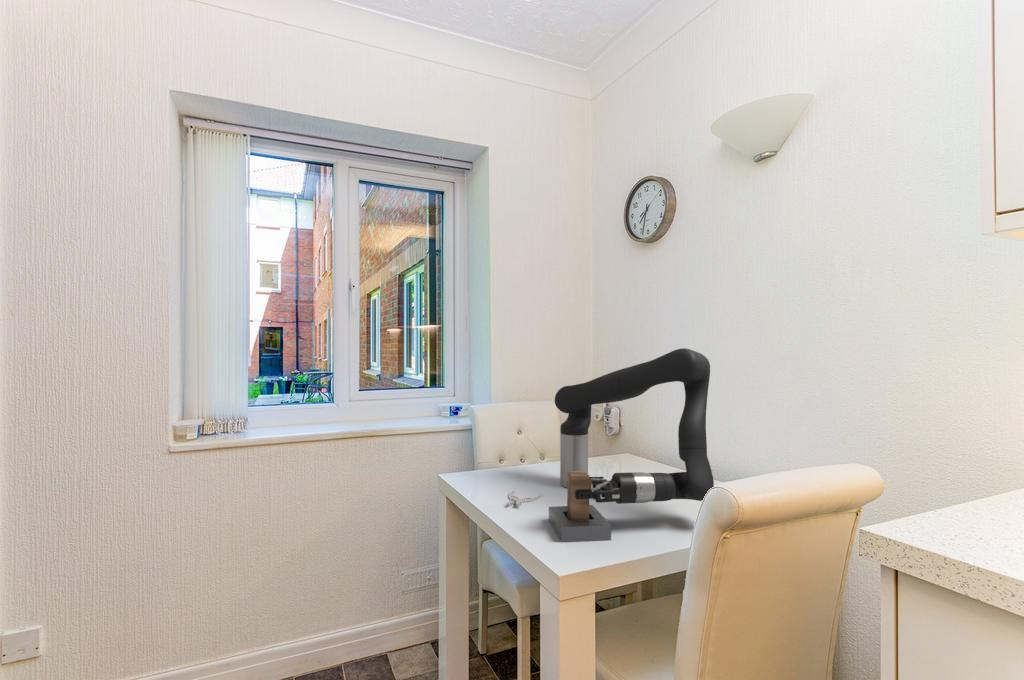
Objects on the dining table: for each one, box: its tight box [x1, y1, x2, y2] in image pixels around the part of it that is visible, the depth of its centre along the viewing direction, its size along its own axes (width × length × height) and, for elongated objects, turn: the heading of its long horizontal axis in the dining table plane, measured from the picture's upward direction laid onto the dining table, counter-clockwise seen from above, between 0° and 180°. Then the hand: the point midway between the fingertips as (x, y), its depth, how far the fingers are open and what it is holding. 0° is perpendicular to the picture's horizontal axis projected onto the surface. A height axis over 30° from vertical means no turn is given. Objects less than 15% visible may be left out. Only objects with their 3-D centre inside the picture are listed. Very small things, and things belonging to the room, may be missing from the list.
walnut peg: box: [566, 471, 590, 520], centre depth 122 cm, size 4×4×14 cm
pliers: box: [506, 490, 542, 509], centre depth 145 cm, size 10×2×15 cm
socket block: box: [548, 504, 612, 543], centre depth 122 cm, size 15×12×4 cm
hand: (570, 489), depth 122 cm, fingers open, 8 cm apart
